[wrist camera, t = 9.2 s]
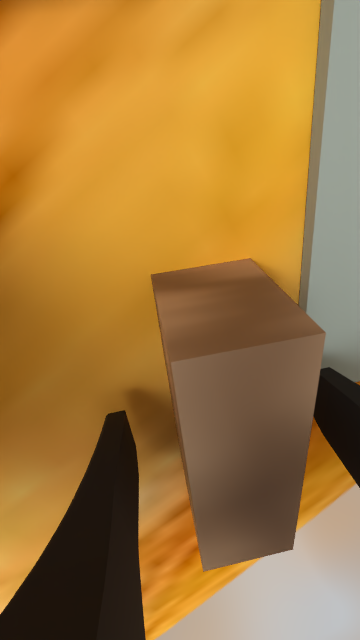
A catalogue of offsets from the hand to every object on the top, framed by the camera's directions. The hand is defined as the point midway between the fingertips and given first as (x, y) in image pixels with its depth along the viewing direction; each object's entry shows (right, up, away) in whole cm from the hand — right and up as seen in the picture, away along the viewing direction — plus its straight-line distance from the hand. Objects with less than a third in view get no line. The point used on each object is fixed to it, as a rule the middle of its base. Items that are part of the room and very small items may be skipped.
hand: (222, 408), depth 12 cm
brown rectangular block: (0, +1, +2) cm, 2 cm away
